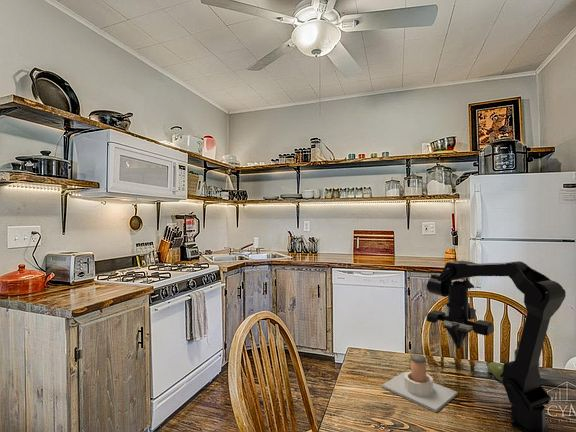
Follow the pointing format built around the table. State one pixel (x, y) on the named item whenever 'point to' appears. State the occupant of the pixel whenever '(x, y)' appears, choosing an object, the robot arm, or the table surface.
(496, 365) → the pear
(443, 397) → the plate with ring collar
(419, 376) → the plug
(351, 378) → the table surface
